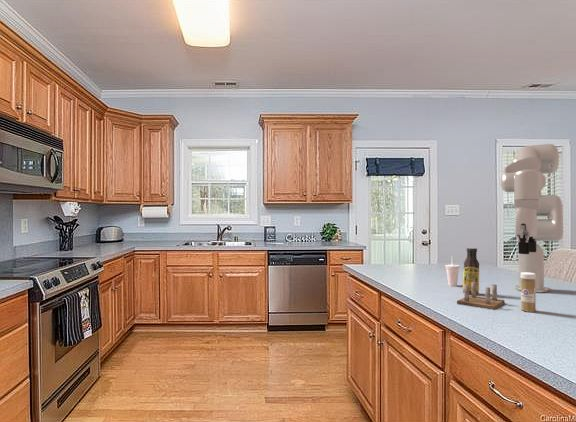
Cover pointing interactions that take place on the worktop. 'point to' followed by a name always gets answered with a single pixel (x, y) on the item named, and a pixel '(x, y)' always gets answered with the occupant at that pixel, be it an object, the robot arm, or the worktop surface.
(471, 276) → the sauce bottle
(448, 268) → the smoothie
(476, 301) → the pin tray
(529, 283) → the sprinkles bottle
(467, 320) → the worktop surface
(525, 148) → the robot arm
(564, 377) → the worktop surface
